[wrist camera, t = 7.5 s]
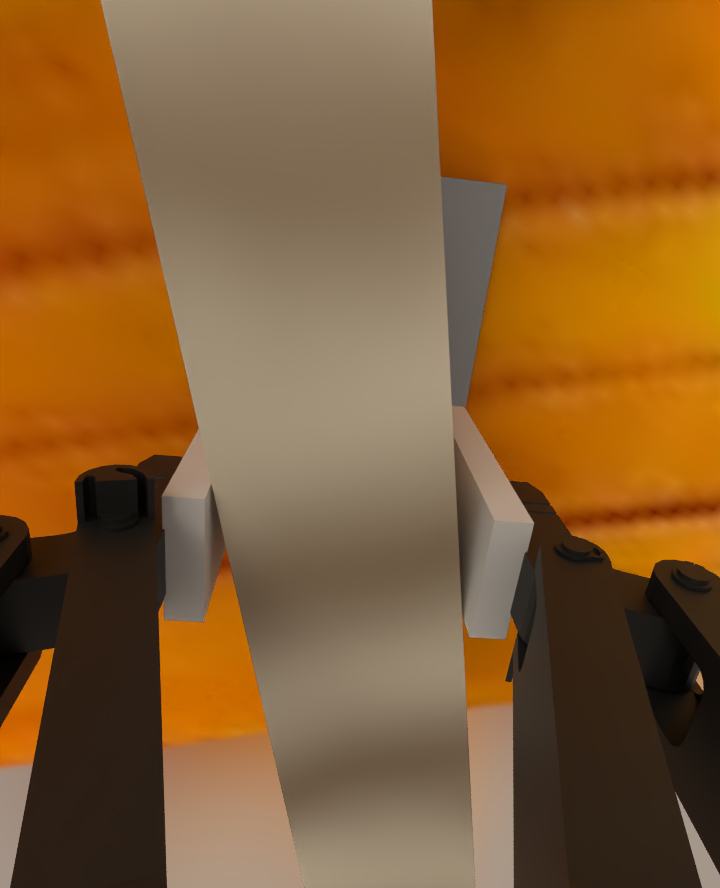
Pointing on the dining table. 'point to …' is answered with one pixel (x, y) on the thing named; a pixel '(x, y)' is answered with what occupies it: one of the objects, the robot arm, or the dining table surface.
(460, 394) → the fulcrum
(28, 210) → the dining table surface
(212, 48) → the batten
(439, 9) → the dining table surface
